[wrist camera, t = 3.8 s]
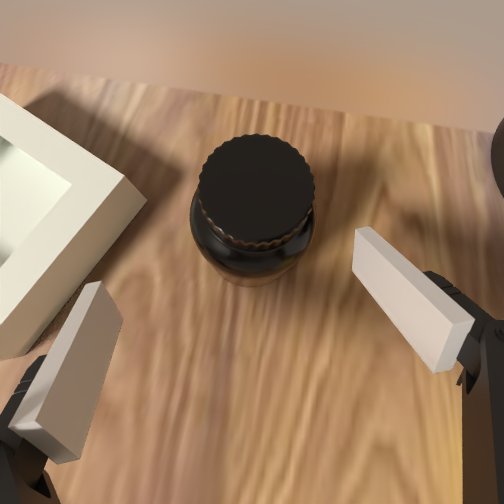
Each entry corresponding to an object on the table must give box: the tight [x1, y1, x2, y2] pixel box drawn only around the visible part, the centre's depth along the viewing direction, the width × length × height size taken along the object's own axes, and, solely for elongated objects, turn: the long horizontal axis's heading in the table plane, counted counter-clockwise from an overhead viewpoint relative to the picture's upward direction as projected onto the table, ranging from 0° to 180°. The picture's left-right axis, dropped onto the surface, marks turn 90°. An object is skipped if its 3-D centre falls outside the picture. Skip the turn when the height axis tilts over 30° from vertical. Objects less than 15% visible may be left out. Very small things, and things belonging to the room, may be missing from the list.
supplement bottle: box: [190, 134, 317, 287], centre depth 17 cm, size 7×7×12 cm
